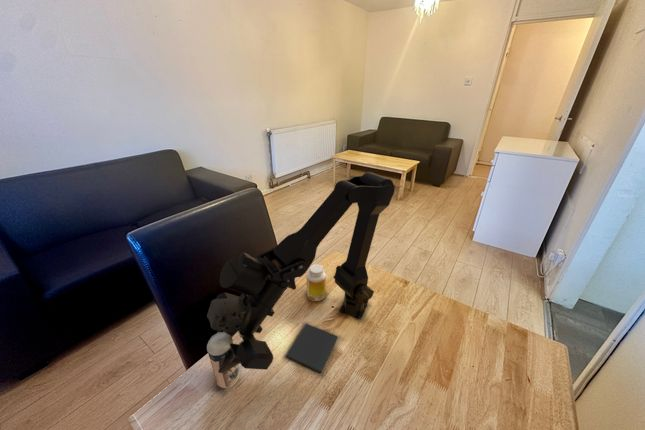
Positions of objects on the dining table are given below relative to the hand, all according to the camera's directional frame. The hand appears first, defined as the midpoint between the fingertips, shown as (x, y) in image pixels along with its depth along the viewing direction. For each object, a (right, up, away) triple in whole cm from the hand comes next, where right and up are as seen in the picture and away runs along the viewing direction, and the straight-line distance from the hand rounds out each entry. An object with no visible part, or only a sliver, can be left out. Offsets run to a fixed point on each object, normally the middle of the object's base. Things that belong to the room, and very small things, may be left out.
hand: (216, 362), depth 52 cm
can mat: (+19, -3, +11) cm, 22 cm away
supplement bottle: (+19, +5, +27) cm, 34 cm away
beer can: (+1, -6, +4) cm, 7 cm away
